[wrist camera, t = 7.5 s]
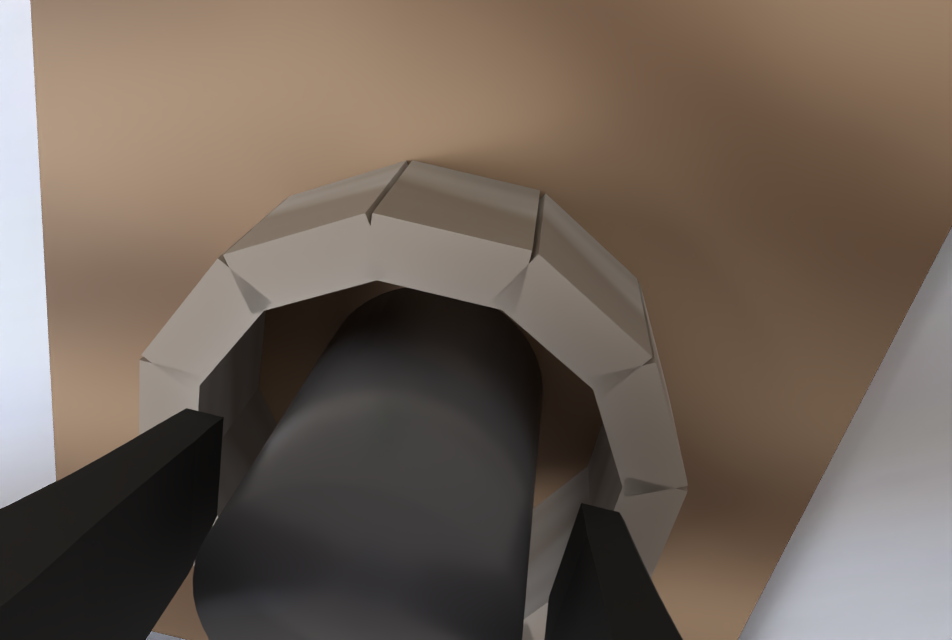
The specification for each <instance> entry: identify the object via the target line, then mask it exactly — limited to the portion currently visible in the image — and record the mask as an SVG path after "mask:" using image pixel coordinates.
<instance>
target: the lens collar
mask: <svg viewBox="0 0 952 640" xmlns="http://www.w3.org/2000/svg"><path fill="white" fill-rule="evenodd" d="M30 1H31V20H32V38H33V57H34V75H35V94H36V112H37V131H38V150H39V168H40V187H41V205H42V224H43V242H44V261H45V279H46V298H47V317H48V335H49V354H50V372H51V391H52V409H53V428H54V447H55V465H56V481H58V480H60V479H62V478H64V477H66V476H68V475H70V474H72V473H73V472H75V471H77V470H79V469H81V468H82V467H84V466H86V465H88V464H90V463H91V462H93V461H95V460H97V459H99V458H100V457H102V456H104V455H106V454H108V453H109V452H111V451H113V450H115V449H116V448H118V447H120V446H121V445H123V444H125V443H127V442H128V441H130V440H132V439H134V438H135V437H137V436H139V435H140V434H142V433H144V432H146V431H147V430H149V429H151V428H152V427H154V426H156V425H158V424H159V423H161V422H163V421H164V420H166V419H168V418H170V417H172V416H173V415H175V414H177V413H179V412H180V411H182V410H184V409H186V408H188V409H192V410H196V411H200V412H204V413H209V414H213V415H217V416H221V417H224V421H223V436H222V451H221V465H220V480H219V494H218V509H217V518H216V520H217V519H218V517H219V515H220V514H221V512H222V511H223V509H224V508H225V506H226V505H227V503H228V501H229V500H230V498H231V497H232V495H233V494H234V492H235V490H236V489H237V487H238V486H239V484H240V483H241V481H242V479H243V478H244V476H245V475H246V473H247V472H248V470H249V468H250V467H251V465H252V464H253V462H254V461H255V459H256V457H257V456H258V454H259V453H260V451H261V450H262V448H263V446H264V445H265V443H266V442H267V440H268V439H269V437H270V435H271V434H272V432H273V431H274V429H275V428H276V426H277V425H278V423H279V421H280V420H281V418H282V417H283V415H284V414H285V412H286V410H287V409H288V407H289V406H290V404H291V403H292V401H293V399H294V398H295V396H296V395H297V393H298V392H299V390H300V388H301V387H302V385H303V384H304V382H305V381H306V379H307V377H308V376H309V374H310V373H311V371H312V370H313V368H314V366H315V365H316V363H317V362H318V360H319V359H320V357H321V356H322V354H323V352H324V351H325V349H326V348H327V346H328V345H329V343H330V341H331V340H332V338H333V337H334V335H335V334H336V332H337V330H338V329H339V327H340V326H341V325H342V323H343V322H344V321H345V320H346V318H347V317H348V316H349V315H350V314H351V313H352V312H354V311H355V310H356V309H357V308H358V307H360V306H361V305H362V304H364V303H365V302H367V301H368V300H370V299H372V298H374V297H376V296H378V295H380V294H383V293H386V292H389V291H392V290H395V289H400V288H405V287H408V288H412V289H416V290H420V291H424V292H429V293H433V294H437V295H441V296H445V297H450V298H454V299H458V300H462V301H466V302H471V303H475V304H479V305H483V306H487V307H492V308H496V309H498V310H499V311H501V312H502V313H503V314H505V315H506V316H507V317H508V318H509V319H510V320H511V321H512V322H513V323H514V324H515V325H516V326H517V327H518V328H519V329H520V331H521V332H522V333H523V335H524V336H525V337H526V339H527V340H528V342H529V344H530V345H531V347H532V349H533V351H534V353H535V356H536V358H537V360H538V363H539V367H540V371H541V375H542V385H543V393H542V408H541V420H540V432H539V444H538V456H537V468H536V480H535V492H534V504H533V516H532V528H531V540H530V552H529V564H528V576H527V588H526V600H525V612H524V624H523V636H522V640H544V639H545V629H546V619H547V610H548V600H549V595H550V592H551V589H552V586H553V583H554V580H555V577H556V575H557V572H558V569H559V566H560V563H561V560H562V557H563V554H564V551H565V548H566V546H567V543H568V540H569V537H570V534H571V531H572V528H573V525H574V522H575V519H576V517H577V514H578V511H579V508H580V505H581V503H583V504H588V505H592V506H596V507H600V508H604V509H608V510H613V511H617V512H620V514H621V516H622V517H623V519H624V521H625V523H626V525H627V528H628V530H629V532H630V534H631V537H632V539H633V541H634V543H635V546H636V548H637V550H638V552H639V554H640V556H641V559H642V561H643V563H644V565H645V567H646V569H647V571H648V573H649V575H650V577H651V580H652V582H653V584H654V586H655V588H656V590H657V592H658V594H659V596H660V598H661V599H662V601H663V603H664V605H665V607H666V609H667V611H668V613H669V615H670V616H671V618H672V620H673V622H674V624H675V626H676V628H677V630H678V631H679V633H680V635H681V637H682V639H683V640H738V638H739V636H740V634H741V632H742V630H743V628H744V626H745V625H746V623H747V621H748V619H749V617H750V615H751V613H752V611H753V609H754V607H755V605H756V603H757V601H758V599H759V597H760V596H761V594H762V592H763V590H764V588H765V586H766V584H767V582H768V580H769V578H770V576H771V574H772V572H773V570H774V569H775V567H776V565H777V563H778V561H779V559H780V557H781V555H782V553H783V551H784V549H785V547H786V545H787V543H788V542H789V540H790V538H791V536H792V534H793V532H794V530H795V528H796V526H797V524H798V522H799V520H800V518H801V516H802V515H803V513H804V511H805V509H806V507H807V505H808V503H809V501H810V499H811V497H812V495H813V493H814V491H815V489H816V487H817V486H818V484H819V482H820V480H821V478H822V476H823V474H824V472H825V470H826V468H827V466H828V464H829V462H830V460H831V459H832V457H833V455H834V453H835V451H836V449H837V447H838V445H839V443H840V441H841V439H842V437H843V435H844V433H845V432H846V430H847V428H848V426H849V424H850V422H851V420H852V418H853V416H854V414H855V412H856V410H857V408H858V406H859V405H860V403H861V401H862V399H863V397H864V395H865V393H866V391H867V389H868V387H869V385H870V383H871V381H872V379H873V378H874V376H875V374H876V372H877V370H878V368H879V366H880V364H881V362H882V360H883V358H884V356H885V354H886V352H887V350H888V349H889V347H890V345H891V343H892V341H893V339H894V337H895V335H896V333H897V331H898V329H899V327H900V325H901V323H902V322H903V320H904V318H905V316H906V314H907V312H908V310H909V308H910V306H911V304H912V302H913V300H914V298H915V296H916V295H917V293H918V291H919V289H920V287H921V285H922V283H923V281H924V279H925V277H926V275H927V273H928V271H929V269H930V268H931V266H932V264H933V262H934V260H935V258H936V256H937V254H938V252H939V250H940V248H941V246H942V244H943V242H944V241H945V239H946V237H947V235H948V233H949V231H950V229H951V227H952V0H30ZM216 520H215V522H216ZM215 522H214V523H215ZM213 525H214V524H213ZM195 561H196V560H195ZM194 564H195V562H194ZM194 564H193V566H192V568H191V570H190V572H189V574H188V575H187V577H186V579H185V580H184V582H183V583H182V585H181V586H180V588H179V589H178V591H177V593H176V594H175V596H174V597H173V599H172V600H171V602H170V603H169V605H168V606H167V608H166V609H165V611H164V612H163V614H162V615H161V617H160V619H159V620H158V622H157V623H156V625H155V626H154V628H153V629H152V631H154V632H158V633H162V634H166V635H170V636H174V637H178V638H182V639H186V640H209V638H208V636H207V634H206V633H205V631H204V629H203V627H202V625H201V622H200V619H199V616H198V614H197V611H196V606H195V602H194V597H193V572H194Z"/></svg>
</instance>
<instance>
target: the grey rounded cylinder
mask: <svg viewBox="0 0 952 640" xmlns="http://www.w3.org/2000/svg"><path fill="white" fill-rule="evenodd" d="M542 393H543V385H542V375H541V371H540V367H539V363H538V360H537V358H536V356H535V353H534V351H533V349H532V347H531V345H530V344H529V342H528V340H527V339H526V337H525V336H524V335H523V333H522V332H521V331H520V329H519V328H518V327H517V326H516V325H515V324H514V323H513V322H512V321H511V320H510V319H509V318H508V317H507V316H506V315H505V314H503V313H502V312H501V311H499V310H498V309H496V308H492V307H487V306H483V305H479V304H475V303H471V302H466V301H462V300H458V299H454V298H450V297H445V296H441V295H437V294H433V293H429V292H424V291H420V290H416V289H412V288H408V287H405V288H400V289H395V290H392V291H389V292H386V293H383V294H380V295H378V296H376V297H374V298H372V299H370V300H368V301H367V302H365V303H364V304H362V305H361V306H360V307H358V308H357V309H356V310H355V311H354V312H352V313H351V314H350V315H349V316H348V317H347V318H346V320H345V321H344V322H343V323H342V325H341V326H340V327H339V329H338V330H337V332H336V334H335V335H334V337H333V338H332V340H331V341H330V343H329V345H328V346H327V348H326V349H325V351H324V352H323V354H322V356H321V357H320V359H319V360H318V362H317V363H316V365H315V366H314V368H313V370H312V371H311V373H310V374H309V376H308V377H307V379H306V381H305V382H304V384H303V385H302V387H301V388H300V390H299V392H298V393H297V395H296V396H295V398H294V399H293V401H292V403H291V404H290V406H289V407H288V409H287V410H286V412H285V414H284V415H283V417H282V418H281V420H280V421H279V423H278V425H277V426H276V428H275V429H274V431H273V432H272V434H271V435H270V437H269V439H268V440H267V442H266V443H265V445H264V446H263V448H262V450H261V451H260V453H259V454H258V456H257V457H256V459H255V461H254V462H253V464H252V465H251V467H250V468H249V470H248V472H247V473H246V475H245V476H244V478H243V479H242V481H241V483H240V484H239V486H238V487H237V489H236V490H235V492H234V494H233V495H232V497H231V498H230V500H229V501H228V503H227V505H226V506H225V508H224V509H223V511H222V512H221V514H220V515H219V517H218V519H217V520H216V522H215V523H214V525H213V526H212V528H211V530H210V531H209V533H208V534H207V536H206V538H205V540H204V542H203V543H202V545H201V547H200V549H199V552H198V555H197V558H196V561H195V564H194V572H193V597H194V602H195V606H196V611H197V614H198V616H199V619H200V622H201V625H202V627H203V629H204V631H205V633H206V634H207V636H208V638H209V640H522V636H523V624H524V612H525V600H526V588H527V576H528V564H529V552H530V540H531V528H532V516H533V504H534V492H535V480H536V468H537V456H538V444H539V432H540V420H541V408H542Z"/></svg>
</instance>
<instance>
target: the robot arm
mask: <svg viewBox="0 0 952 640" xmlns="http://www.w3.org/2000/svg"><path fill="white" fill-rule="evenodd" d="M223 421H224V417H221V416H217V415H213V414H209V413H204V412H200V411H196V410H192V409H188V408H186V409H184V410H182V411H180V412H179V413H177V414H175V415H173V416H172V417H170V418H168V419H166V420H164V421H163V422H161V423H159V424H158V425H156V426H154V427H152V428H151V429H149V430H147V431H146V432H144V433H142V434H140V435H139V436H137V437H135V438H134V439H132V440H130V441H128V442H127V443H125V444H123V445H121V446H120V447H118V448H116V449H115V450H113V451H111V452H109V453H108V454H106V455H104V456H102V457H100V458H99V459H97V460H95V461H93V462H91V463H90V464H88V465H86V466H84V467H82V468H81V469H79V470H77V471H75V472H73V473H72V474H70V475H68V476H66V477H64V478H62V479H60V480H58V481H56V482H54V483H52V484H50V485H48V486H46V487H44V488H42V489H40V490H38V491H36V492H34V493H32V494H30V495H28V496H26V497H24V498H22V499H20V500H18V501H16V502H14V503H12V504H10V505H8V506H6V507H4V508H2V509H0V640H146V638H147V637H148V635H149V634H150V632H151V631H152V629H153V628H154V626H155V625H156V623H157V622H158V620H159V619H160V617H161V615H162V614H163V612H164V611H165V609H166V608H167V606H168V605H169V603H170V602H171V600H172V599H173V597H174V596H175V594H176V593H177V591H178V589H179V588H180V586H181V585H182V583H183V582H184V580H185V579H186V577H187V575H188V574H189V572H190V570H191V568H192V566H193V564H194V562H195V560H196V558H197V555H198V552H199V549H200V547H201V545H202V543H203V542H204V540H205V538H206V536H207V534H208V533H209V531H210V530H211V528H212V526H213V524H214V522H215V520H216V518H217V509H218V494H219V480H220V465H221V451H222V436H223ZM544 640H683V639H682V637H681V635H680V633H679V631H678V630H677V628H676V626H675V624H674V622H673V620H672V618H671V616H670V615H669V613H668V611H667V609H666V607H665V605H664V603H663V601H662V599H661V598H660V596H659V594H658V592H657V590H656V588H655V586H654V584H653V582H652V580H651V577H650V575H649V573H648V571H647V569H646V567H645V565H644V563H643V561H642V559H641V556H640V554H639V552H638V550H637V548H636V546H635V543H634V541H633V539H632V537H631V534H630V532H629V530H628V528H627V525H626V523H625V521H624V519H623V517H622V516H621V514H620V512H617V511H613V510H608V509H604V508H600V507H596V506H592V505H588V504H583V503H581V505H580V508H579V511H578V514H577V517H576V519H575V522H574V525H573V528H572V531H571V534H570V537H569V540H568V543H567V546H566V548H565V551H564V554H563V557H562V560H561V563H560V566H559V569H558V572H557V575H556V577H555V580H554V583H553V586H552V589H551V592H550V595H549V600H548V610H547V619H546V629H545V639H544Z"/></svg>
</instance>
